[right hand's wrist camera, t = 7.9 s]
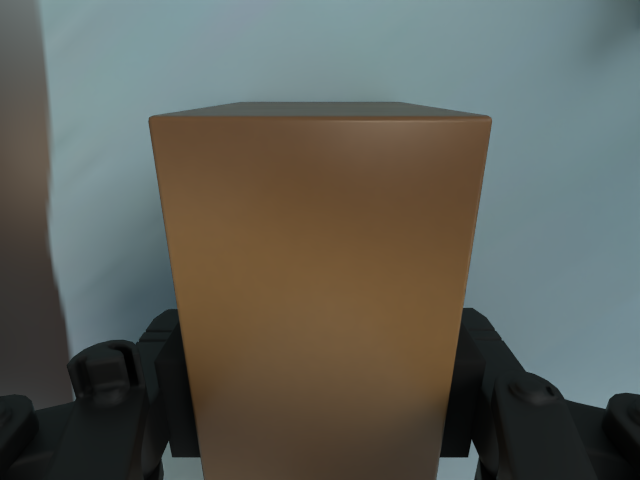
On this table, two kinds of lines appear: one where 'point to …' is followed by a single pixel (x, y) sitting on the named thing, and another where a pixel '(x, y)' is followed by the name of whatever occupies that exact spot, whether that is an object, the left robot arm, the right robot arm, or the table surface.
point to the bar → (320, 280)
